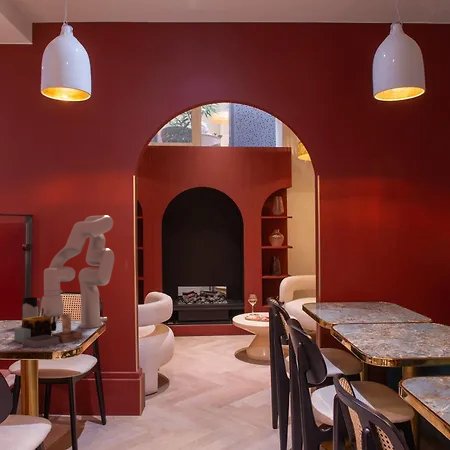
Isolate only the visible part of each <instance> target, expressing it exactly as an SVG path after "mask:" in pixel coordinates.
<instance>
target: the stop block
mask: <svg viewBox="0 0 450 450" xmlns="http://www.w3.org/2000/svg"><path fill="white" fill-rule="evenodd" d="M13 330H14V331H13V332H14V335H13V337H14V341H15V342H17V343H22V344H24V342H23V339H24V338H30V337H31V329H27V328H23V327H22V326H19V327H14V329H13Z"/></svg>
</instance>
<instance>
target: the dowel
mask: <svg viewBox="0 0 450 450" xmlns="http://www.w3.org/2000/svg"><path fill="white" fill-rule="evenodd" d="M61 320H62V321H61V323H62V324H61V325H62V326H61V332H62V335H67V334H71V331H72V313H63V314H62V317H61Z"/></svg>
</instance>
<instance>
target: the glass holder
mask: <svg viewBox="0 0 450 450" xmlns="http://www.w3.org/2000/svg"><path fill="white" fill-rule="evenodd" d="M38 301H39V303H38ZM41 302H42V299H40V298H38V297H23V298H22V319H24V318H30V317H36V316H39V314H40V313H41ZM38 304H39V307H38Z"/></svg>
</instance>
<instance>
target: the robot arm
mask: <svg viewBox="0 0 450 450" xmlns="http://www.w3.org/2000/svg"><path fill="white" fill-rule="evenodd" d="M113 225H114V220H113V218H112V217H111V216H109V215H91V216H90V215H89V216H87V217H86V218H85V219H84V220H83V221H77V222H75V224H73V227H72V229H71V230H70V231H71V232H70V234H69V236H68V238H67V241H66V243H65V246H64V247H62V248H61V249H60V250H59V251H58V252H57V253H56V254H55V255H54V257H53V259H51V262H50V264H49V267H48V268H45V269H44V270H43V296H42V297H41V309H40V316H42V317H43V318H44V317H51V330H52V331H51V332H55V331H57V323H58V320H59V319H62V314H64V302H63V301H64V300H63V297H62V295H61V293H63V290H62V289H61V282H71V281H73V280H74V279H75V277H76V270H75V269H74V268H73V267H71V266H64V265H65V263H66V262H67V261H68V260H70V259H72V258H74V257H76V256H78V255H79V254H80V253H82V251H83V248H84V246H85V243H86V241H87V239H88V238H89V243H88V247H87V252H86V256H85V262H86V263H87V265H89V266H91V267H84V268H82V269H81V270H80V271H79V273H78V282H79V285H80V288H79V289H80V319H81V321H80V322H81V323H78V326H77V327H78V328H79V329H80V328H81V329H94V328H100V327H102V326H104V325H103V322H105V321H108V317H107V316H104V317H102V316H100V291H99V288H98V286H99V287H101V286H103V287H104V286H106V285H108V284H109V282H110V280H111V277H112V272H113V268H114V264H115V254H114V251H113V250H112V249H110V248H107V247H105V246H106V237H105V235H104V234H105V233H107V232H109V231H111V230H112V228H113ZM92 266H93V267H92Z"/></svg>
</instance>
